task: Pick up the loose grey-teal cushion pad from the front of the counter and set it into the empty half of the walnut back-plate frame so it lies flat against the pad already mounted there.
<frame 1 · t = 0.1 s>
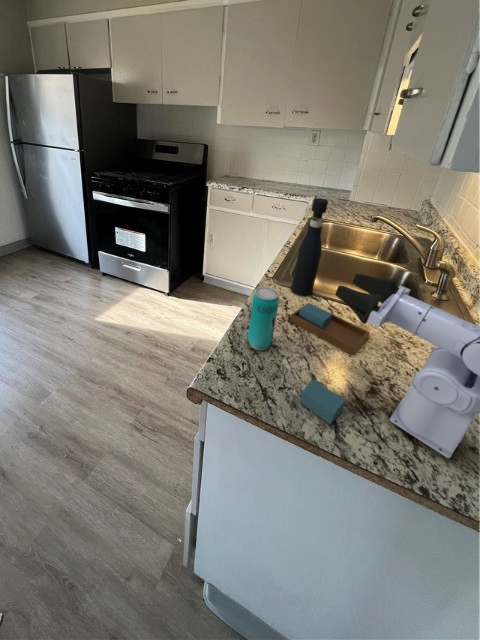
hand: (346, 283, 62), 22 cm above the counter, tool horizontal, fingers open, 7 cm apart
loose pad: (320, 406, 62), on the counter
back plate: (327, 329, 83), on the counter
black water bottle: (301, 291, 101), on the counter
beverage can: (258, 344, 77), on the counter
mounted pad: (313, 322, 86), resting on back plate
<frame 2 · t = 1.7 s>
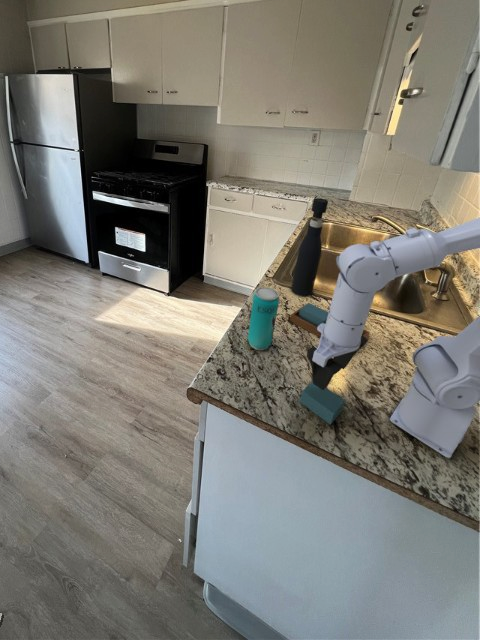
hand: (329, 375, 58), 8 cm above the counter, tool pointing down, fingers open, 7 cm apart
nothing on the counter moved.
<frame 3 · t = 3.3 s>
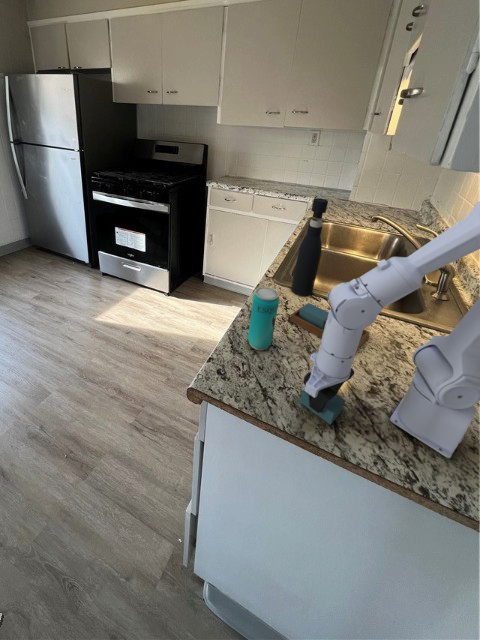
hand: (321, 401, 61), 1 cm above the counter, tool pointing down, fingers closed on loose pad, 4 cm apart
loose pad: (320, 406, 62), on the counter, touching gripper
everything else where it was.
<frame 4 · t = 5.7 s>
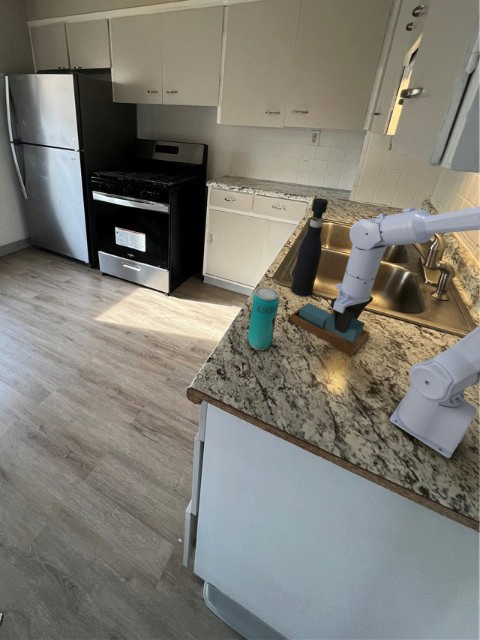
hand: (344, 325, 71), 8 cm above the counter, tool pointing down, fingers closed on loose pad, 4 cm apart
loose pad: (342, 330, 72), point 7 cm above the counter, touching gripper
everything else where it was.
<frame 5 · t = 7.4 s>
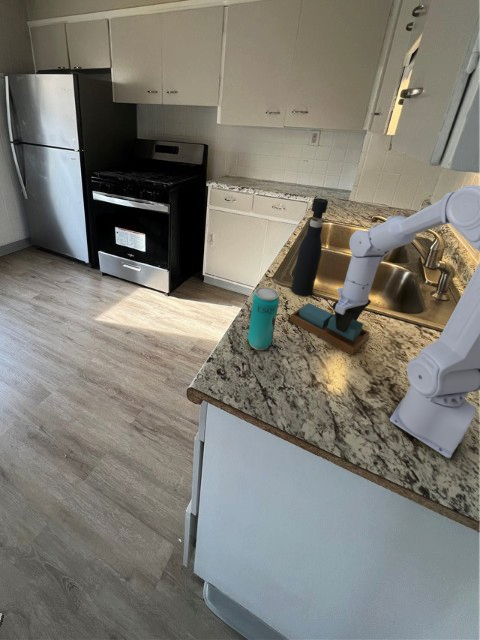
hand: (345, 326, 79), 4 cm above the counter, tool pointing down, fingers closed on loose pad, 4 cm apart
loose pad: (343, 330, 80), point 2 cm above the counter, touching gripper
everything else where it was.
when the fingers open (2 cm above the counter, at t = 8.4 s): loose pad stays where it is, resting on back plate.
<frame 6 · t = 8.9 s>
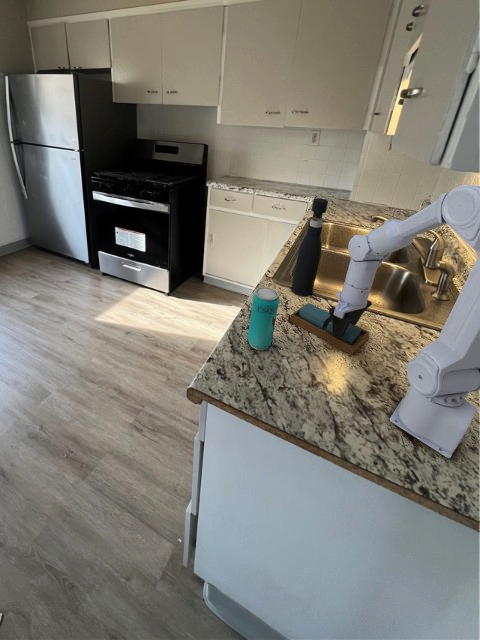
hand: (344, 329, 80), 2 cm above the counter, tool pointing down, fingers open, 7 cm apart
loose pad: (342, 335, 81), point 1 cm above the counter, touching back plate
everything else where it was.
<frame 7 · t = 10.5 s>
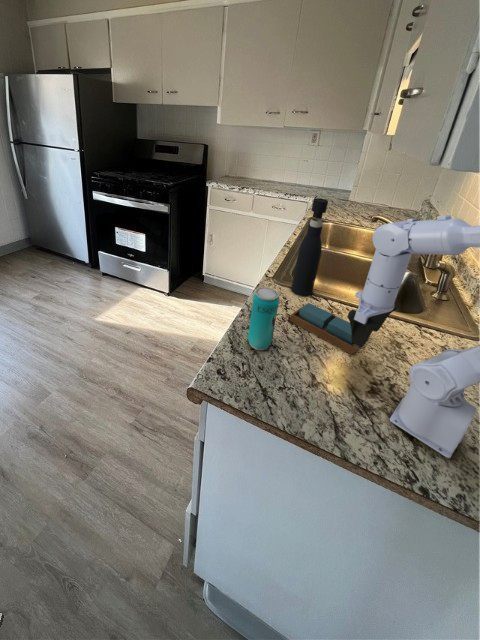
hand: (364, 336, 67), 9 cm above the counter, tool pointing down, fingers open, 7 cm apart
nothing on the counter moved.
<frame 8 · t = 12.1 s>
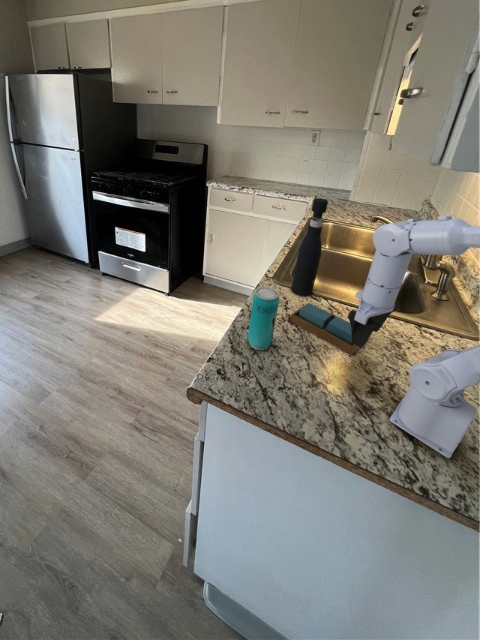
hand: (365, 336, 67), 9 cm above the counter, tool pointing down, fingers open, 7 cm apart
nothing on the counter moved.
at the end: loose pad 0.4 cm from the target spot in the back plate, point 0.6 cm above the back plate's base; loose pad tilted 0°; the gripper is holding nothing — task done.
